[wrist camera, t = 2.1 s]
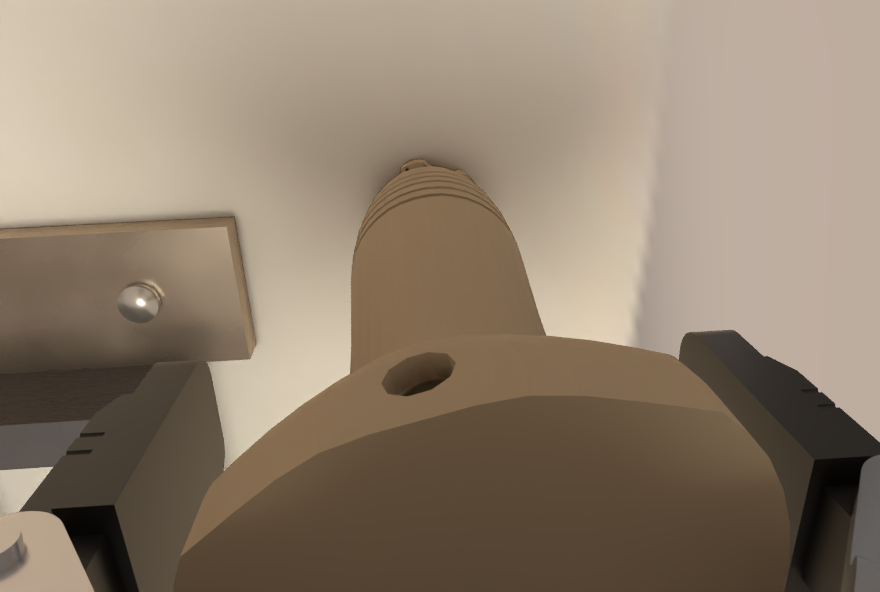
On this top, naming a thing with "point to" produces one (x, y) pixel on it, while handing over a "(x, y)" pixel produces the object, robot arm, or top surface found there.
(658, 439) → the handle
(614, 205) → the top surface
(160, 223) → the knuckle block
